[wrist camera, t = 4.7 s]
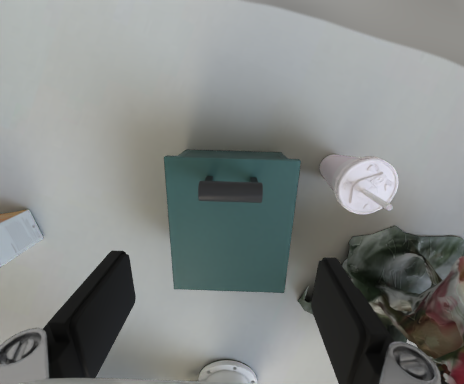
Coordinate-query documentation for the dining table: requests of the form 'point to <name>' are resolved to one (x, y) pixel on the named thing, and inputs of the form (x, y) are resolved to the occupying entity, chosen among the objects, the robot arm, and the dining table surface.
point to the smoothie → (360, 182)
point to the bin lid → (230, 221)
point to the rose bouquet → (414, 291)
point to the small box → (17, 234)
